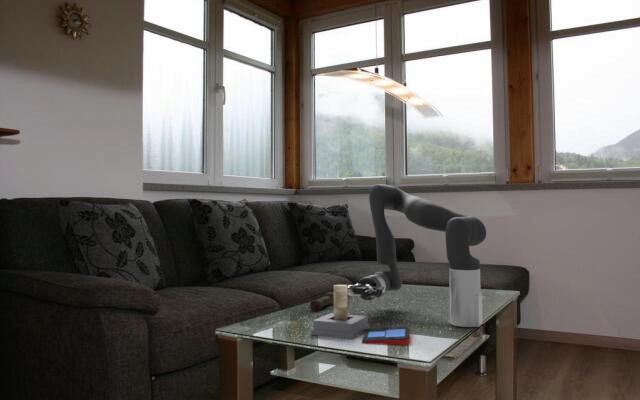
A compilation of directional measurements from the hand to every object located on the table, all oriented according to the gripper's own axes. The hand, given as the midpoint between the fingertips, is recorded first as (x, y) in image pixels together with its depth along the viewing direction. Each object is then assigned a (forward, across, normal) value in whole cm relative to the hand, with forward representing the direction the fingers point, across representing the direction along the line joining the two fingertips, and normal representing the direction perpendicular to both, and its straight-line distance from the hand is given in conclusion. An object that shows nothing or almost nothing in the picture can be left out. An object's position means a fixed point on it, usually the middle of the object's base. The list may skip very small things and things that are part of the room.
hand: (352, 294), depth 162 cm
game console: (+10, +14, +10) cm, 20 cm away
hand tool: (-26, -23, +10) cm, 36 cm away
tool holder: (+9, 0, +10) cm, 13 cm away
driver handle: (+9, 0, +8) cm, 12 cm away
